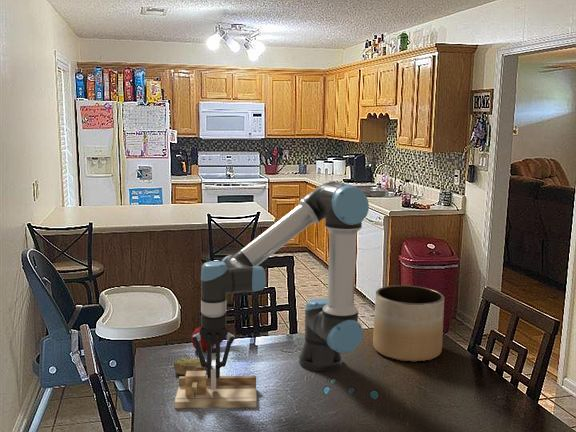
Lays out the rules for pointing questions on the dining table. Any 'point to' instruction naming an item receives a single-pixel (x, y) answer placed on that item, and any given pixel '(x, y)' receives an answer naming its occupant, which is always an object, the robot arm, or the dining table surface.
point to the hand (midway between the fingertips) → (213, 387)
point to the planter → (408, 322)
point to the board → (220, 393)
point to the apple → (203, 343)
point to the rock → (188, 365)
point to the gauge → (195, 383)
